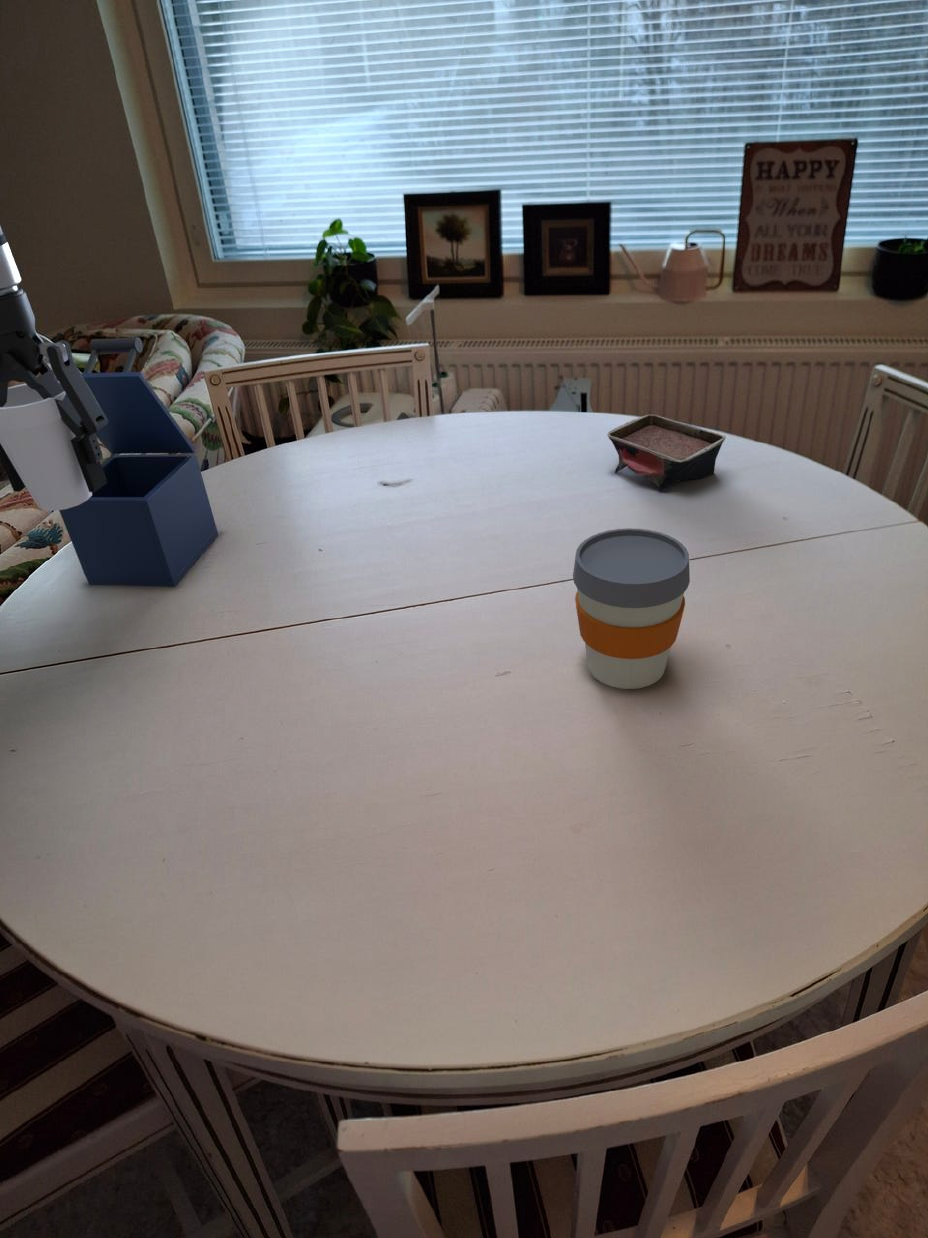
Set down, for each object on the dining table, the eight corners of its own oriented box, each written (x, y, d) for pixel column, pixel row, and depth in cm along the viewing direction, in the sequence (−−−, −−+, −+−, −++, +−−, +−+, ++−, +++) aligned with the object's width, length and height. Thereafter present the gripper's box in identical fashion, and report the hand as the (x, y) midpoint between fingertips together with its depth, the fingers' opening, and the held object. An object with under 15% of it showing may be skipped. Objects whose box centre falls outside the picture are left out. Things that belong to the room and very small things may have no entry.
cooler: (174, 586, 118) (146, 500, 110) (88, 584, 120) (54, 500, 112) (218, 534, 131) (196, 453, 123) (139, 533, 133) (112, 454, 125)
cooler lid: (138, 376, 107) (155, 326, 111) (45, 378, 110) (64, 330, 113) (194, 453, 123) (207, 407, 126) (111, 453, 125) (126, 408, 129)
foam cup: (120, 484, 100) (85, 381, 93) (74, 518, 93) (32, 409, 86) (56, 481, 103) (17, 380, 95) (6, 514, 95) (-40, 408, 88)
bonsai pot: (663, 512, 130) (679, 457, 123) (592, 464, 141) (602, 410, 134) (724, 492, 136) (741, 438, 130) (651, 447, 147) (664, 396, 141)
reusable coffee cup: (551, 673, 94) (550, 563, 86) (608, 623, 102) (612, 517, 94) (646, 714, 87) (654, 598, 79) (700, 656, 95) (712, 545, 87)
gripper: (-132, 304, 83) (-40, 499, 96) (58, 296, 79) (127, 501, 92) (-80, 287, 89) (0, 473, 102) (98, 279, 85) (159, 474, 98)
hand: (60, 486), depth 97 cm, fingers closed on foam cup, 9 cm apart
